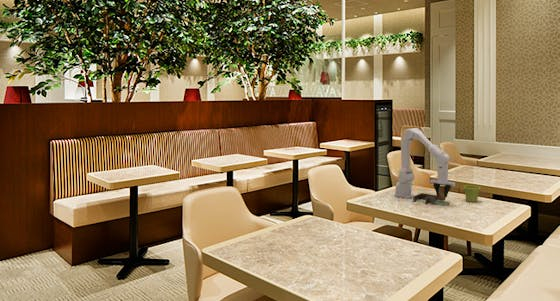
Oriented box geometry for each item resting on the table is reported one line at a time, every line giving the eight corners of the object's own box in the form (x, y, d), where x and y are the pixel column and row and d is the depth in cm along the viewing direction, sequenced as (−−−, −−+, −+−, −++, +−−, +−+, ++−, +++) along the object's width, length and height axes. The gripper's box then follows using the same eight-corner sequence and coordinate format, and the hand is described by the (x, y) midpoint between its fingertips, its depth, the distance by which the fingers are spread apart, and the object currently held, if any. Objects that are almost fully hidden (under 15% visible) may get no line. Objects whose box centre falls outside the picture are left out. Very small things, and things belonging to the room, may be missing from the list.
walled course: (413, 201, 260) (413, 196, 259) (421, 198, 268) (421, 192, 268) (432, 205, 252) (432, 199, 251) (440, 201, 260) (440, 195, 260)
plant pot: (477, 203, 254) (478, 189, 252) (461, 201, 259) (461, 187, 258) (481, 200, 261) (482, 186, 260) (465, 198, 267) (465, 184, 266)
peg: (437, 199, 255) (437, 186, 254) (439, 198, 258) (440, 185, 257) (443, 200, 252) (444, 187, 251) (446, 199, 255) (446, 186, 254)
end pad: (433, 203, 255) (433, 202, 255) (438, 201, 260) (438, 199, 260) (445, 205, 250) (445, 203, 250) (449, 203, 256) (449, 201, 255)
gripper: (428, 173, 255) (427, 195, 257) (452, 176, 245) (451, 199, 247) (432, 172, 260) (432, 193, 262) (457, 174, 250) (456, 197, 252)
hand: (441, 196), depth 255 cm, fingers closed on peg, 4 cm apart
